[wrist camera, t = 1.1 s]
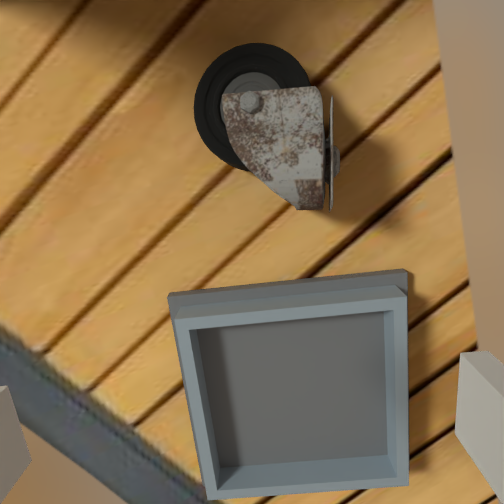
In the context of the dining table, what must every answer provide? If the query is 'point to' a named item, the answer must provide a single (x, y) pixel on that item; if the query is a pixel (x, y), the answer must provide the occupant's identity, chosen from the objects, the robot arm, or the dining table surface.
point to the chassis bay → (297, 383)
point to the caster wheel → (268, 122)
